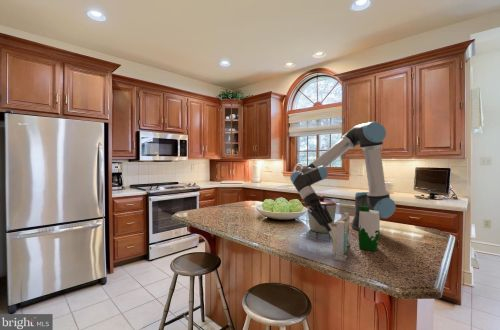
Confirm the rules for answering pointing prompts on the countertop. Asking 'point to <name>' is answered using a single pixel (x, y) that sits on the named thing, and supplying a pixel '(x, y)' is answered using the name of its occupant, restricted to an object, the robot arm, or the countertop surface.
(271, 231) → the countertop surface
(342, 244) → the gate frame
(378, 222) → the milk carton
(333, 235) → the gate
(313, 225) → the canister
